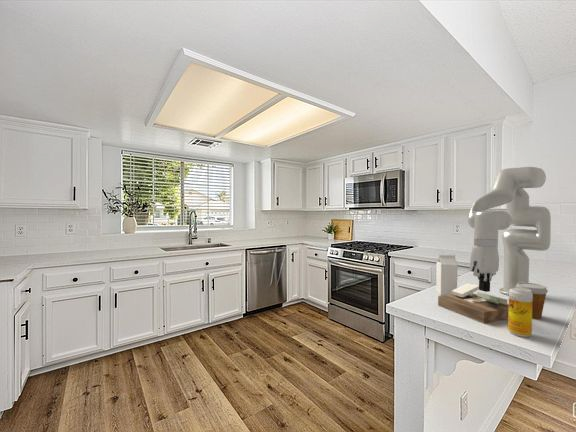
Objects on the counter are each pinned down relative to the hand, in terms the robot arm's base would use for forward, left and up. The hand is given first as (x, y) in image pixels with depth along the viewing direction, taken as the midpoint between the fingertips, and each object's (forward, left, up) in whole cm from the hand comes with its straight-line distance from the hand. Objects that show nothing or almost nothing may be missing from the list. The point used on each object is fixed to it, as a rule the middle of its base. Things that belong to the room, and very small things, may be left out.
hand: (484, 290), depth 110 cm
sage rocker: (-4, 0, -4) cm, 6 cm away
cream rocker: (-4, -11, -4) cm, 13 cm away
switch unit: (-2, -5, -10) cm, 11 cm away
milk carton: (-10, -26, -10) cm, 30 cm away
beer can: (+4, +15, -10) cm, 18 cm away
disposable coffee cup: (-18, +6, -10) cm, 21 cm away
